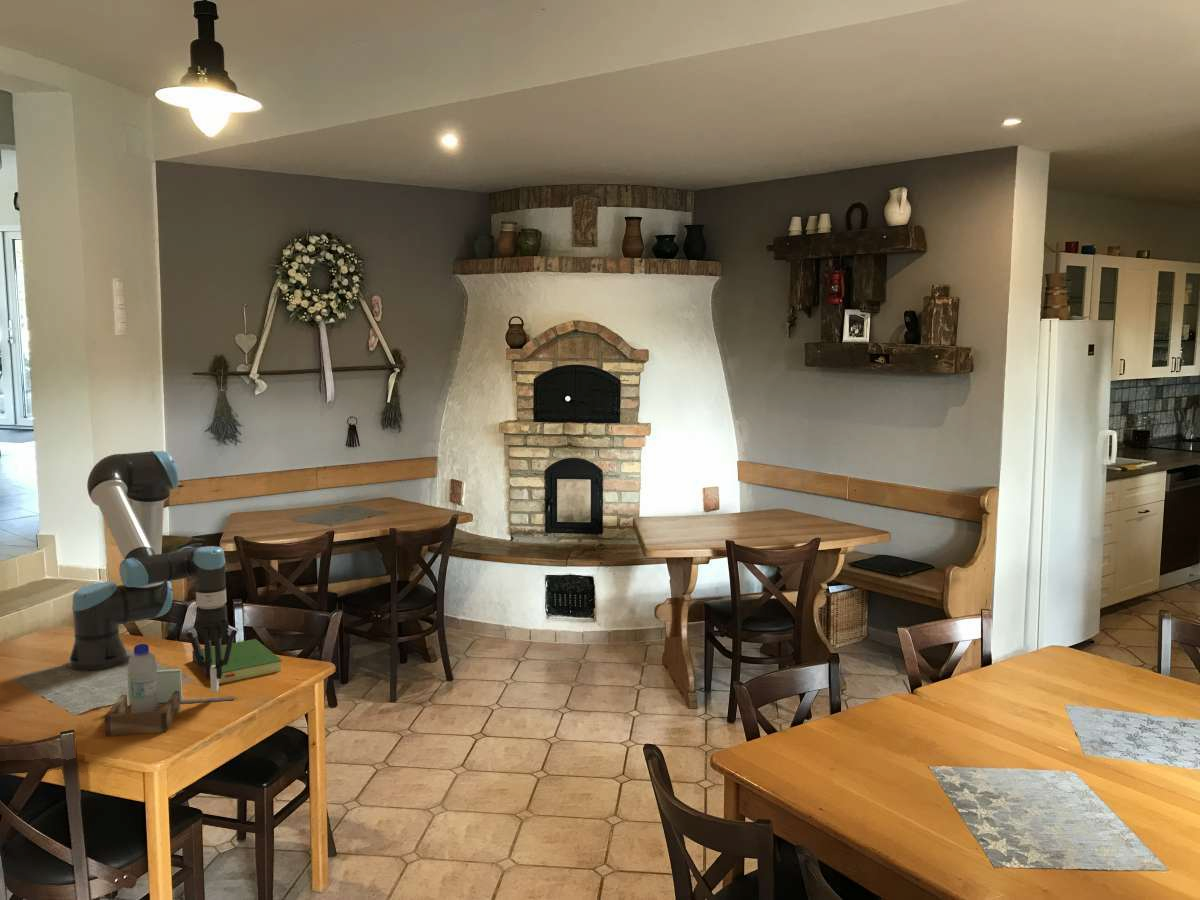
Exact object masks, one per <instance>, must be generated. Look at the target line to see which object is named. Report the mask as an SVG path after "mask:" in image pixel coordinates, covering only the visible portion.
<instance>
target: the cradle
mask: <svg viewBox="0 0 1200 900" xmlns="http://www.w3.org/2000/svg"><path fill="white" fill-rule="evenodd" d="M235 699H236V696H228V697H211V698H197V699H183V700H182V701H180V693H179V691H174V693H173V694H172V696H171V697H170V699H169V700H168V702H164V703H158V706H164V707H163V708H162V710H159V711H153V712H139V713H131V712H128V711H129V709H128V708H131V705H129V704H128V694H127V693H126V694H125V693H124V694H121V695H120V696H119V697H118V698H117V700H116V701H115V703H114V704H112V706H111V707H110V709H109V710H108V712H106V714H105V715H104V717H103V719H104V720H103V721H104V733H105V735H104V736H105V737H113V736H127V735H139V734H141V735H142V734H155V733H166V732H167V733H168V730H169V729H170V727H171V726H172V724H173V722H174V720H175V718H176V717H177V715H178V713H179V712H180V710H181V704H182V705H183V704H185V705H186V704H198V703H211V702H212V703H213V702H215V703H216V702H225V701H227V700H229V701H235Z"/></svg>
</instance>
